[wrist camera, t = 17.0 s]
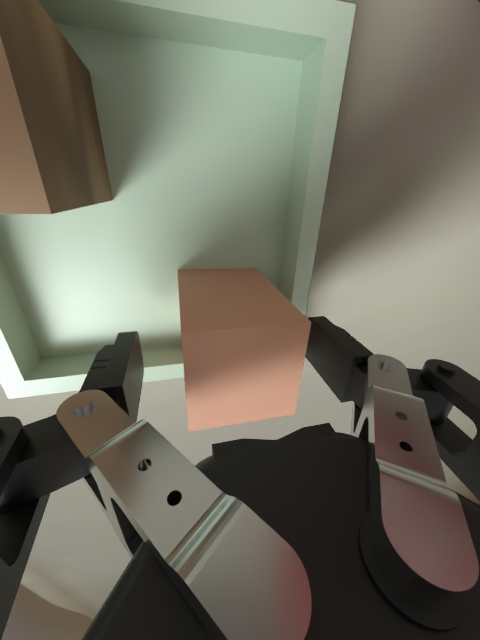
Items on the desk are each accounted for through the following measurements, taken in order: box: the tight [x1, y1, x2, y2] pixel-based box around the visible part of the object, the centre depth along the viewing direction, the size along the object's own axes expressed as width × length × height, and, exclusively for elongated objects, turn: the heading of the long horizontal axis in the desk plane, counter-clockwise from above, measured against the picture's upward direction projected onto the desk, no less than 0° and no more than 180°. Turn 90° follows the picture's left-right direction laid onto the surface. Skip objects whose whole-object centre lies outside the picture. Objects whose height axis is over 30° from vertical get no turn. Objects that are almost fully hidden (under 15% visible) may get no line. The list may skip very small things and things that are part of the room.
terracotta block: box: [177, 268, 311, 432], centre depth 13 cm, size 4×4×7 cm
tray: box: [0, 0, 356, 399], centre depth 12 cm, size 16×16×3 cm
